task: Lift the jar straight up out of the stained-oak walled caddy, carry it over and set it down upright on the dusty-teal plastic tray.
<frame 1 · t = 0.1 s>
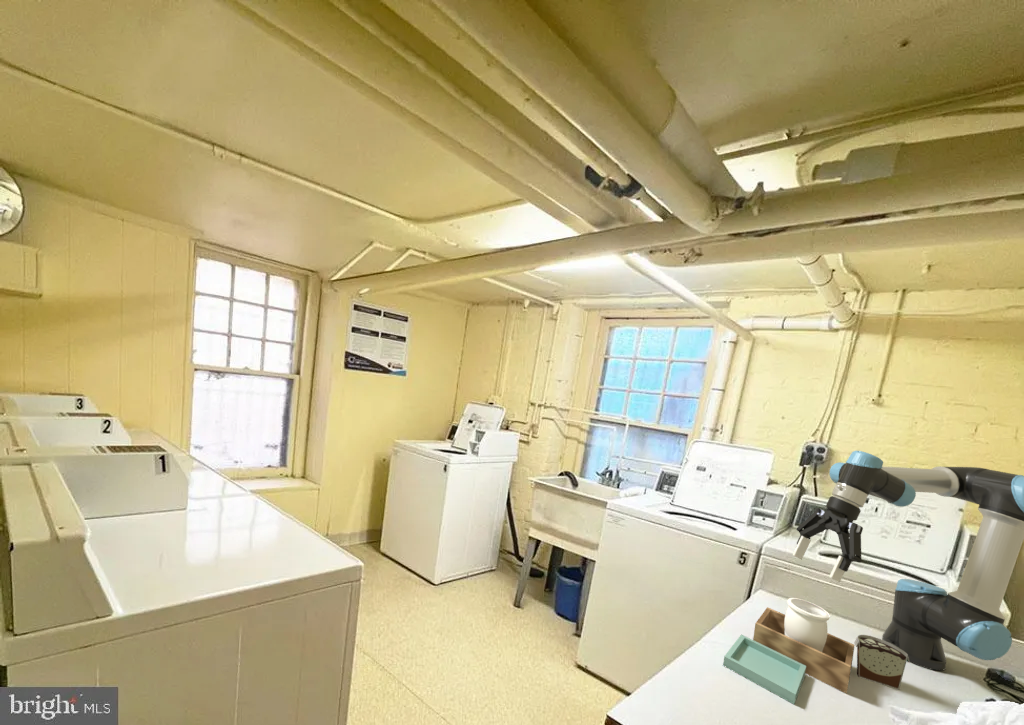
hand: (814, 567, 122), 28 cm above the table, tool tilted 20°, fingers open, 13 cm apart
caddy: (801, 657, 125), on the table
layered cake wedge: (872, 677, 121), on the table
jar: (800, 658, 125), resting in caddy
tray: (764, 670, 115), on the table
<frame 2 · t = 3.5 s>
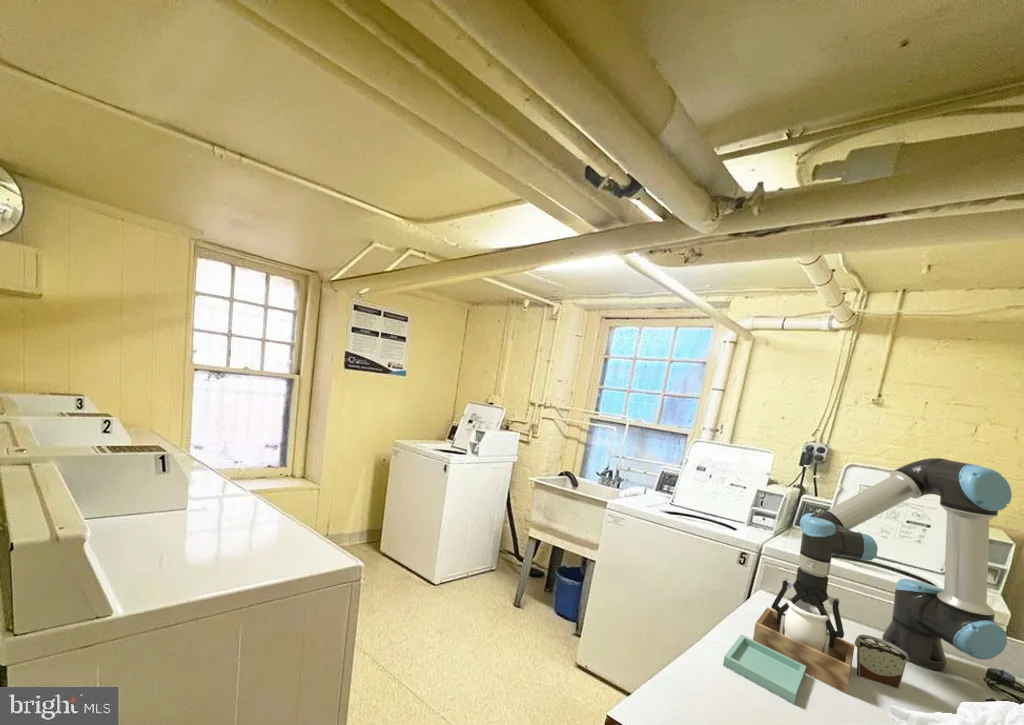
hand: (802, 646, 125), 3 cm above the table, tool pointing down, fingers closed on jar, 10 cm apart
jar: (800, 658, 125), resting in caddy, touching gripper
everything else where it was.
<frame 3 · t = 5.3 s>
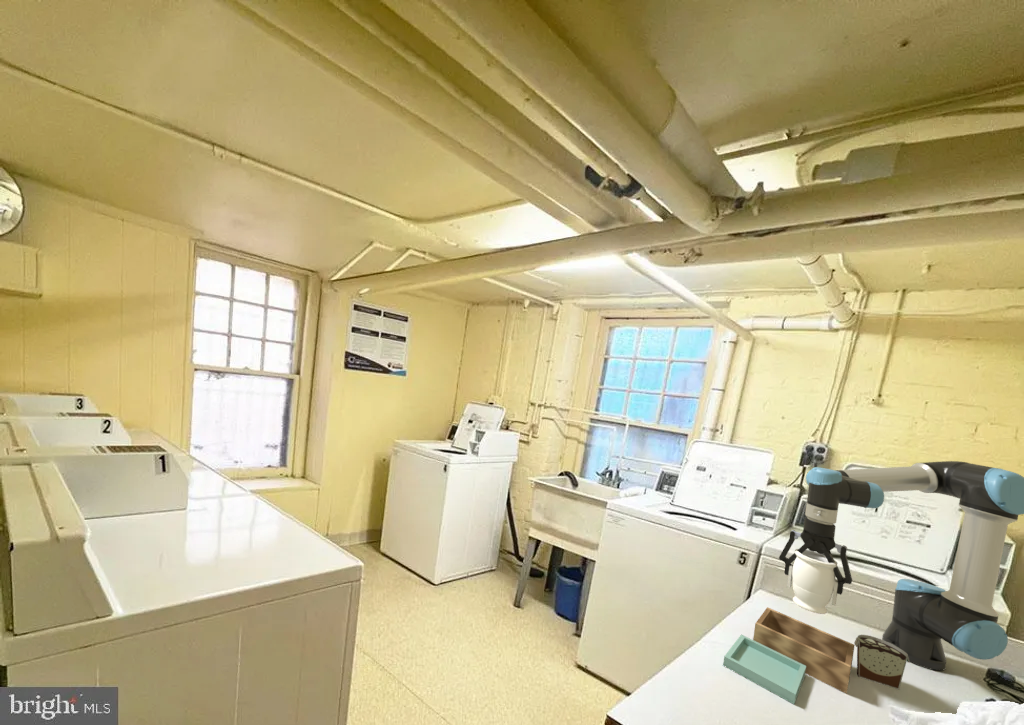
hand: (810, 594, 125), 19 cm above the table, tool pointing down, fingers closed on jar, 10 cm apart
jar: (809, 607, 125), point 15 cm above the table, touching gripper
everything else where it was.
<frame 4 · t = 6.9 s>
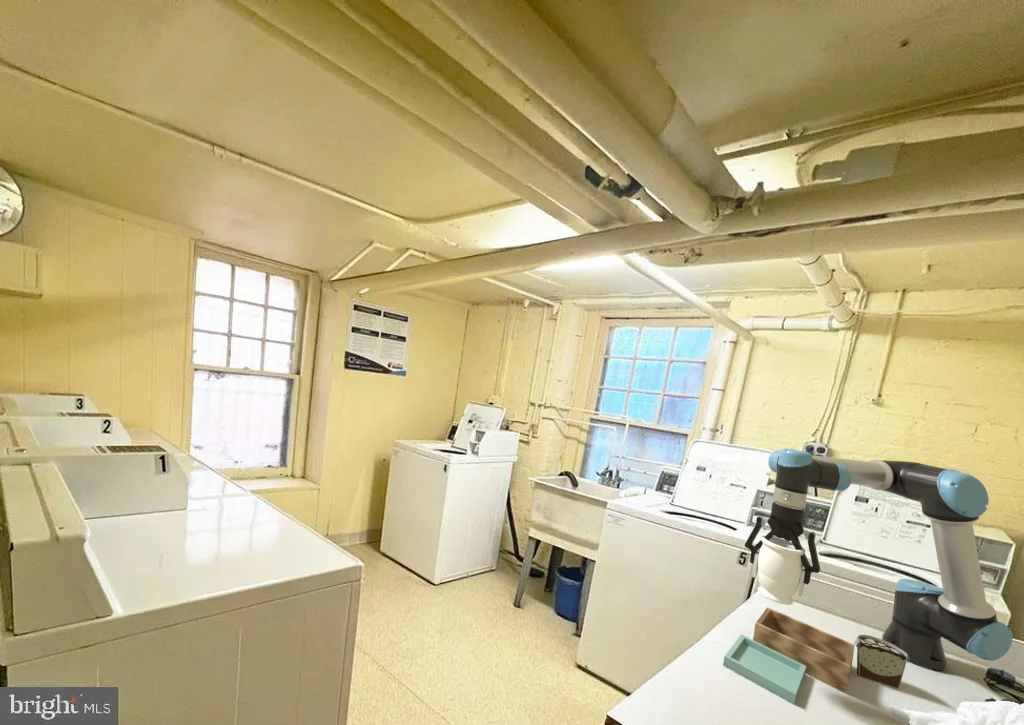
hand: (776, 584, 116), 23 cm above the table, tool pointing down, fingers closed on jar, 10 cm apart
jar: (774, 597, 116), point 20 cm above the table, touching gripper
everything else where it was.
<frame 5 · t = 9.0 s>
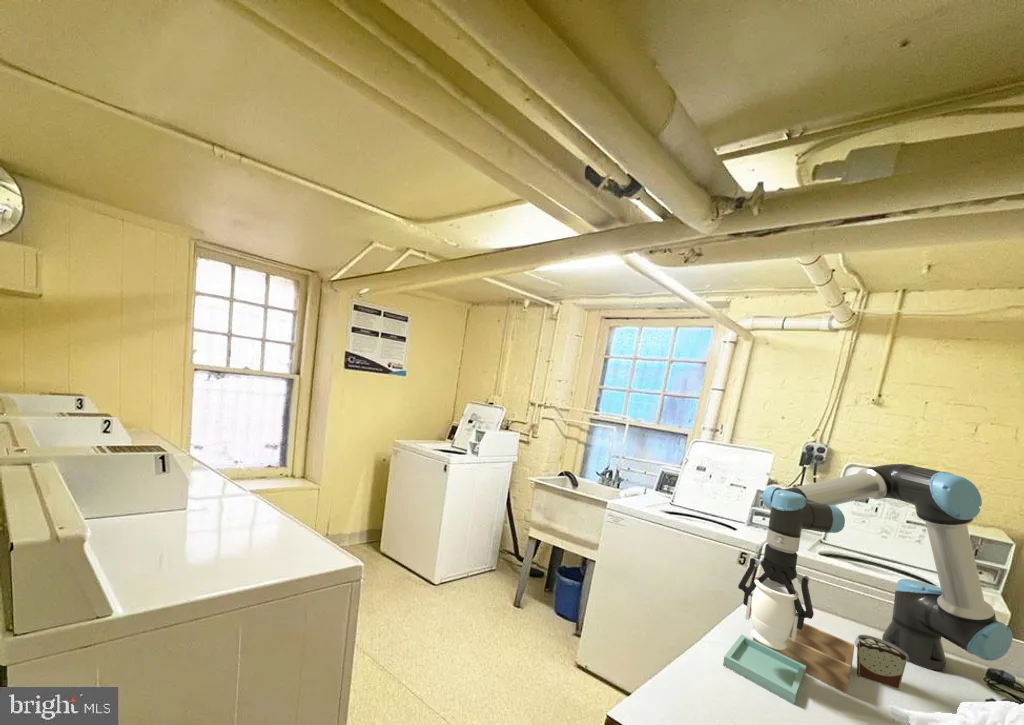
hand: (770, 628, 116), 11 cm above the table, tool pointing down, fingers closed on jar, 10 cm apart
jar: (768, 641, 116), point 8 cm above the table, touching gripper
everything else where it was.
when the fingers open (6 cm above the table, at t = 10.7 s): jar drops 2 cm, resting on tray.
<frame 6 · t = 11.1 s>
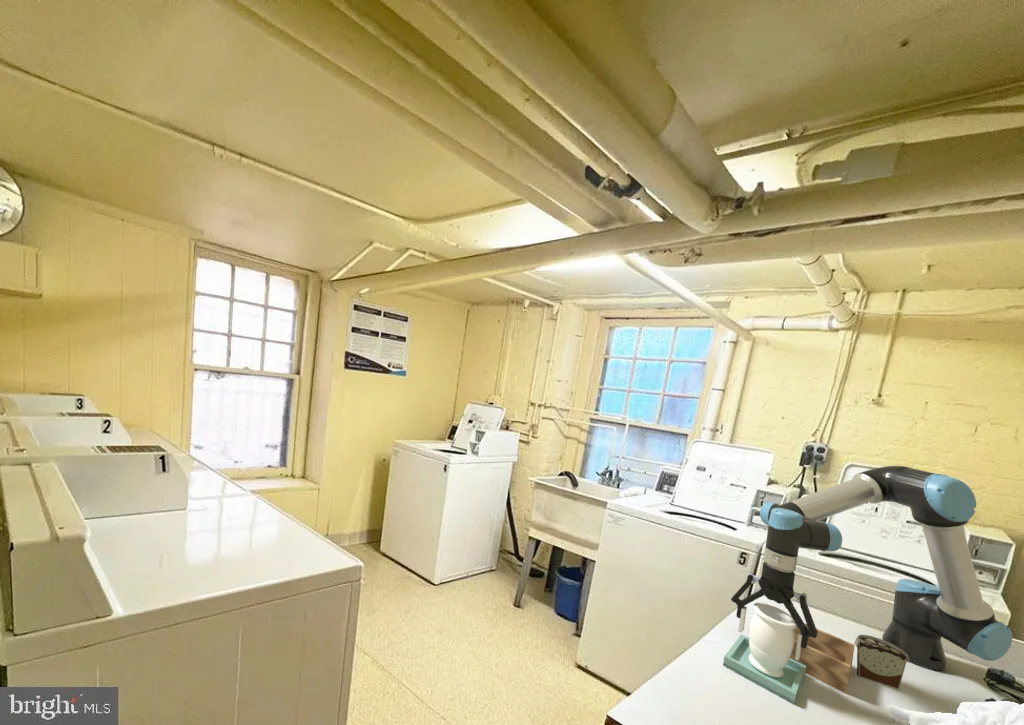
hand: (768, 644, 116), 7 cm above the table, tool pointing down, fingers open, 13 cm apart
jar: (765, 667, 116), point 1 cm above the table, touching tray
everything else where it was.
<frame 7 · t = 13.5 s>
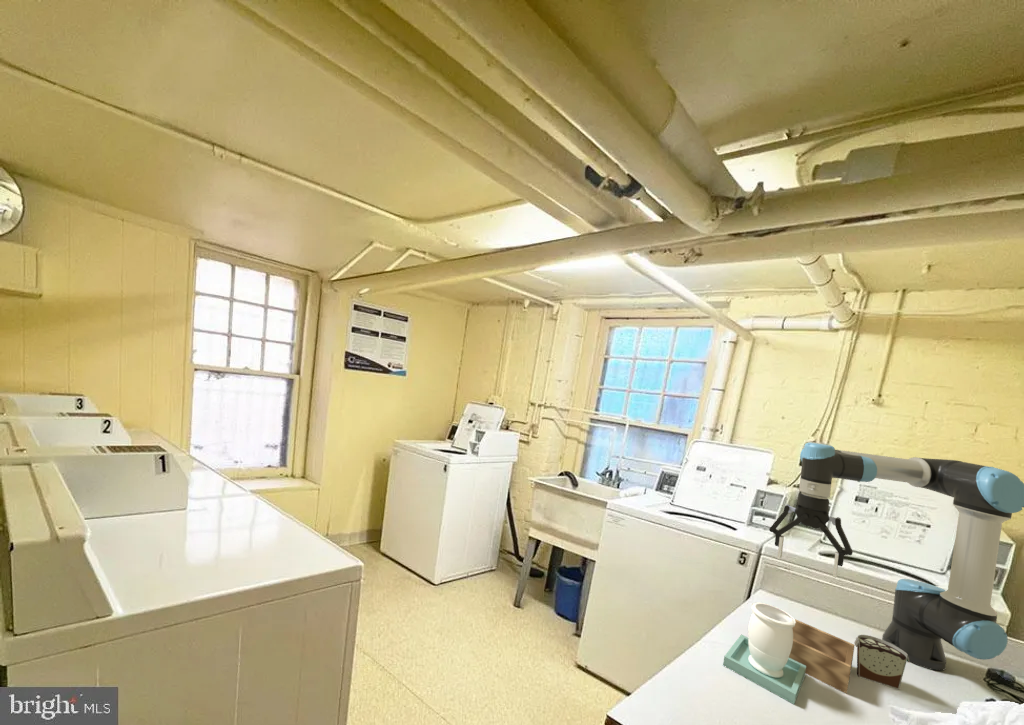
hand: (806, 566, 125), 27 cm above the table, tool pointing down, fingers open, 13 cm apart
nothing on the table moved.
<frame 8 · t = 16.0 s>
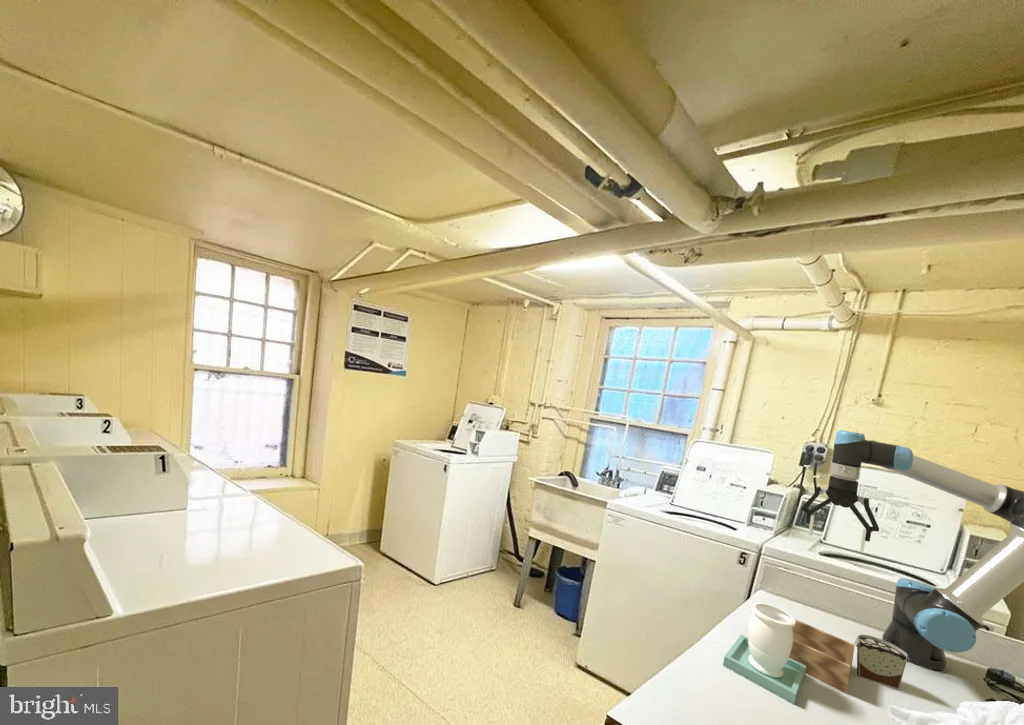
hand: (835, 542, 138), 32 cm above the table, tool pointing down, fingers open, 13 cm apart
nothing on the table moved.
at the end: jar inside the target area on the tray (0.2 cm from its centre), point 0.6 cm above the tray's base; jar tilted 0°; the gripper is holding nothing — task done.
